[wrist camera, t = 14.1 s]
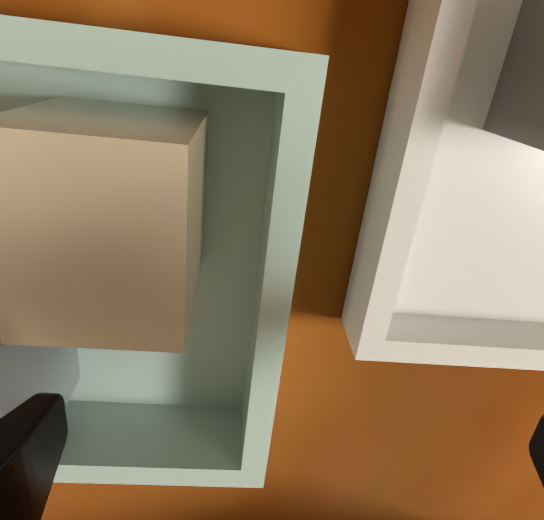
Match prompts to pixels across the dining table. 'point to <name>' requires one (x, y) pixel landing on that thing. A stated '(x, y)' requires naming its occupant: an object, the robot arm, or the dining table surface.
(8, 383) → the tall grey box
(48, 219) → the sand brown box
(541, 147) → the taupe grey cube
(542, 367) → the parts tray
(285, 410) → the dining table surface
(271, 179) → the dish
